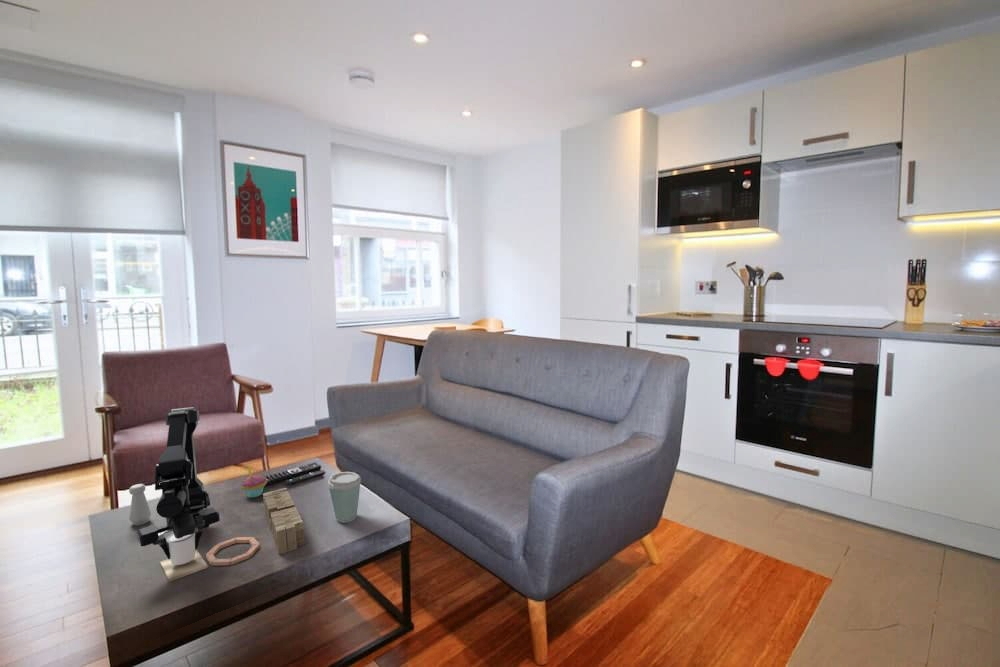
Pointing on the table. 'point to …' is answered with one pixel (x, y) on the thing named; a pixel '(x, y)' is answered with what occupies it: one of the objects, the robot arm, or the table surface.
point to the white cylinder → (181, 549)
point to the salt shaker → (139, 505)
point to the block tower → (283, 520)
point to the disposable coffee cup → (345, 495)
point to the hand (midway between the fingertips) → (182, 553)
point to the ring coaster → (234, 560)
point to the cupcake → (253, 484)
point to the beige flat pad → (183, 567)
